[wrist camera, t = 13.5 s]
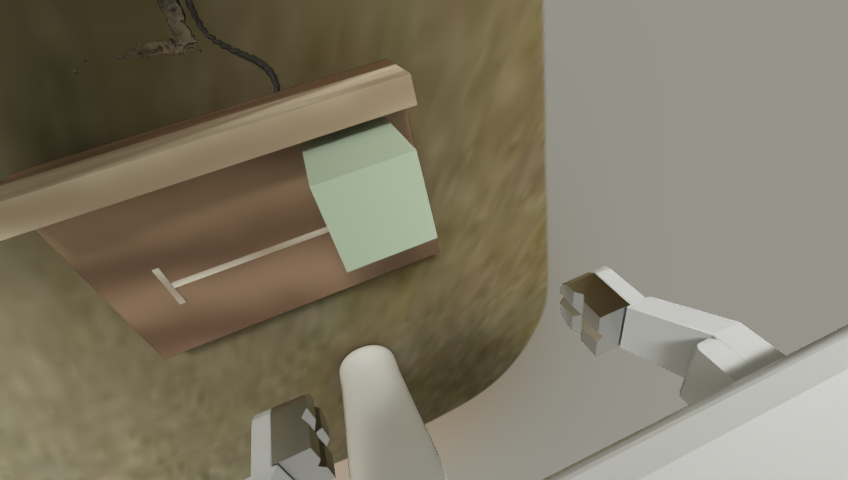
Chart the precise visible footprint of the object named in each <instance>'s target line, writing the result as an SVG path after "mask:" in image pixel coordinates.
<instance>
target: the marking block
mask: <svg viewBox="0 0 848 480" xmlns="http://www.w3.org/2000/svg"><path fill="white" fill-rule="evenodd" d="M301 148H302V153H303V158H304V163H305V167H306V172H307V177H308V182H309V187H310V189H311V191H312V194H313V196H314V198H315V201H316V203H317V205H318V207H319V210H320V212H321V214H322V217H323V219H324V221H325V223H326V226H327V228H328V230H329V232H330V235H331V237H332V239H333V242H334V244H335V246H336V248H337V251H338V253H339V255H340V257H341V260H342V262H343V264H344V267H345V269H346V271H347V272H350V271H352V270H355V269H357V268H360V267H363V266H365V265H368V264H370V263H373V262H376V261H378V260H381V259H384V258H386V257H389V256H391V255H394V254H397V253H399V252H402V251H404V250H407V249H410V248H412V247H415V246H417V245H420V244H423V243H425V242H428V241H430V240H433V239H436V238H438V237H437V233H436V229H435V225H434V220H433V216H432V212H431V208H430V204H429V200H428V196H427V192H426V187H425V183H424V179H423V175H422V171H421V167H420V163H419V159H418V154H417V150H416V149H415V148H414V147H413V146H412V145H411V144H410V143H409V142H408V141H407V140H406V139H405V138H404V136H403V135H402V134H401V133H400V132H399V131H398V130H397V129H396V128H395V127H394V126H393V125H392V124H391V123H390V122H389V121H388V120H387V119H386V118H385V117H384V116H382V117H379V118H375V119H372V120H369V121H366V122H363V123H360V124H357V125H354V126H351V127H348V128H345V129H342V130H339V131H336V132H333V133H330V134H326V135H323V136H320V137H317V138H314V139H311V140H308V141H305V142H302V143H301Z"/></svg>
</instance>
